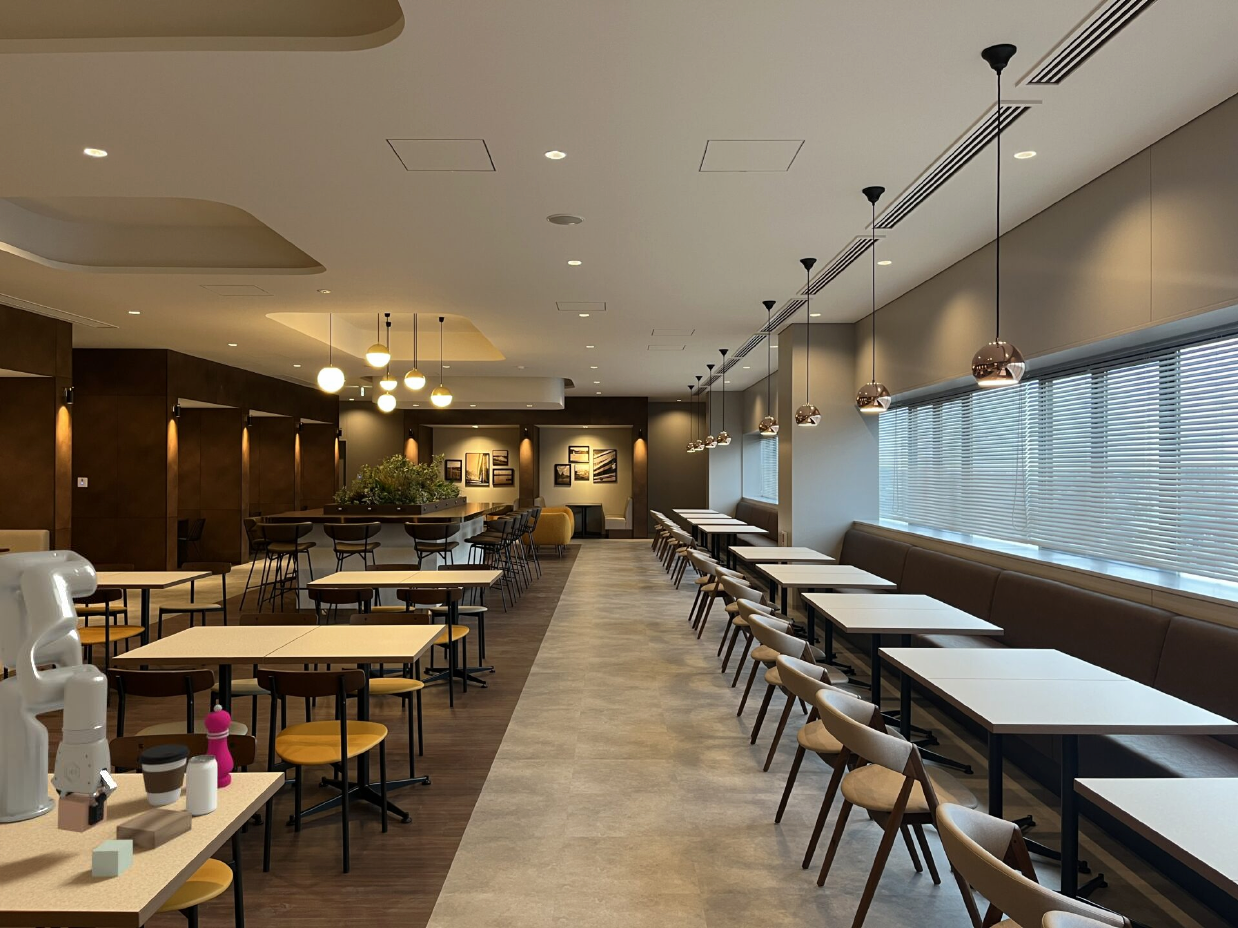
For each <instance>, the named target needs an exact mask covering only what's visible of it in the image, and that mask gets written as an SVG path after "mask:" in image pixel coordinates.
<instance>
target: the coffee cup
mask: <svg viewBox="0 0 1238 928" xmlns="http://www.w3.org/2000/svg"><path fill="white" fill-rule="evenodd" d="M190 755H191V752H190V749H189V746H187V745H185V744H181V743H172V744H171V743H169V744H161V745H156V746H153V747H149V748H147V749H145V750H143V751H142V752H141V753H140V756H139V757H138V763H139V764H141V766H142V767H141V772H142V777H143V783H144V789H145V793H146V796H147V801H148V803H149V805H150V806H153V805H154V807H162V806H167V805H171V804H174V803H175V802H177V801H178V800H179V799H180V796H181V793H182V792H181V791H182V787H183V786H184V785H183V784H184V779H185V775H186V767H187V758H188V757H189V756H190Z"/></svg>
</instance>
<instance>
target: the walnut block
mask: <svg viewBox="0 0 1238 928" xmlns="http://www.w3.org/2000/svg"><path fill="white" fill-rule="evenodd" d="M192 817H193V816H192V813H190V812H186V811H180V810H173V809H168V808H166V809H165V808H159V807H158V808H157V807H154V808H151V809H150V810H148V811H146V812H143V813H142V814H140V815H137V816H134V817H133V818H131V819H128V820H127V821H125V822H122V823H120V824H119V825H117V826H116V828H115V829H116V831H115V832H116V838H115V840H133V847H138V848H144V849H151V850H156V849H158V848H159V847H161V846H164V845H165V844H167V843H168V842H169V843H170V842H171V841H172V840H174V839H176V838H178V837H180V836H182V835H184V834H186V833H188V832H190V831H191V830H192V827H193V826H192V825H193V824H192V819H193V818H192Z"/></svg>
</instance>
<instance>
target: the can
mask: <svg viewBox="0 0 1238 928" xmlns="http://www.w3.org/2000/svg"><path fill="white" fill-rule="evenodd" d="M187 761H188V763H187V764H186V769H185V812H190V813H192V817H197V816H203V815H204V816H205V815H208V814H211V813H213V812H214V811H215V810H216V809H217V807H218V788H217V762H216V760H215V756H213V755H206V754H201V755H197V756H193V757H191V758H189V759H188V760H187Z"/></svg>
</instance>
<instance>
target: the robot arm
mask: <svg viewBox="0 0 1238 928" xmlns="http://www.w3.org/2000/svg"><path fill="white" fill-rule="evenodd" d="M98 582H99V581H98V574H97V572H96V570H95V567H94V565H93V564H92V563H91V562H90V561H89V560H88V559H86V558H85V557H84V556H82V555H80V554H79V553H77V552H75V551H73V550H69V549H67V550H65V549H62V550H61V549H60V550H44V551H43V550H42V551H25V552H23V551H22V552H21V551H20V552H12V553H5V554H1V555H0V663H1V665H2V667H4V668H5V669H9V670H15V672H16V675H14V676H10V677H8V678H5V679H3V680H1V681H0V823H12V822H20V821H25V820H29V819H33V818H36V817H39V816H42V815H45V814H46V813H48V812H50V811H52V810H54V808H55V807H56V805H57V804H56V802H57V801H56V799H55V798H54V797H50V796H49V795H48V794H49V793H48V791H49V790H48V789H49V784H48V783H49V781H48V780H49V732H48V728H47V727H46V726H45V725H44V724H43V723H42V722H41V721H39V720H38V719H37V717H36V716H37V715H42V714H44V713H47V712H48V713H49V712H53V711H59V710H63V714H62V715H63V716H62V717H63V719H62V722H63V723H62V727H61V732H62V739H61V740H60V741H59V744H58V748H57V751H56V757H55V762H54V763H55V764H54V772H53V773H54V774H53V777H52V778H50V784H52V786H53V788H55V792H56V793H57V794H58V796H59V797H58V800H59V799H61V798H63V797H66V796H68V795H70V794H72V793H81V794H89V798H90V801H91V806H89V821H88V824H89V825H91V826H92V825H94V824H96V823H98V822H100V821H102V820H103V818H104V802H105V801H106V800H107V801H108V798H109V797H110V796H111V795H112V794H113V793H114V792H115V791H116V790H117V784H116V782H114V781H113V779H112V778H111V756H110V754H111V753H110V747H109V741H108V739H107V705H108V703H107V701H108V700H107V699H108V678H107V675H106V674H104V673H103V672H101V670H99V668H98V667H97V666H96V665H94V664H88V663H86V664H83V652H82V651H83V650H82V640H81V636H80V633H79V631H78V629H77V626H78V624H79V617H78V614H77V610H76V607H75V605H74V604H75V603H74V601H73V598H74V599H75V598H84V597H89V596H91V595H93V594H94V593H95V591H96V590H97V587H98ZM49 665H55V667H56V668H52V669H46V670H42V671H39V670H38V668H37V667H40V666H41V667H42V666H49ZM97 791H98V793H99V796H98V797H96V793H95V792H97Z"/></svg>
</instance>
